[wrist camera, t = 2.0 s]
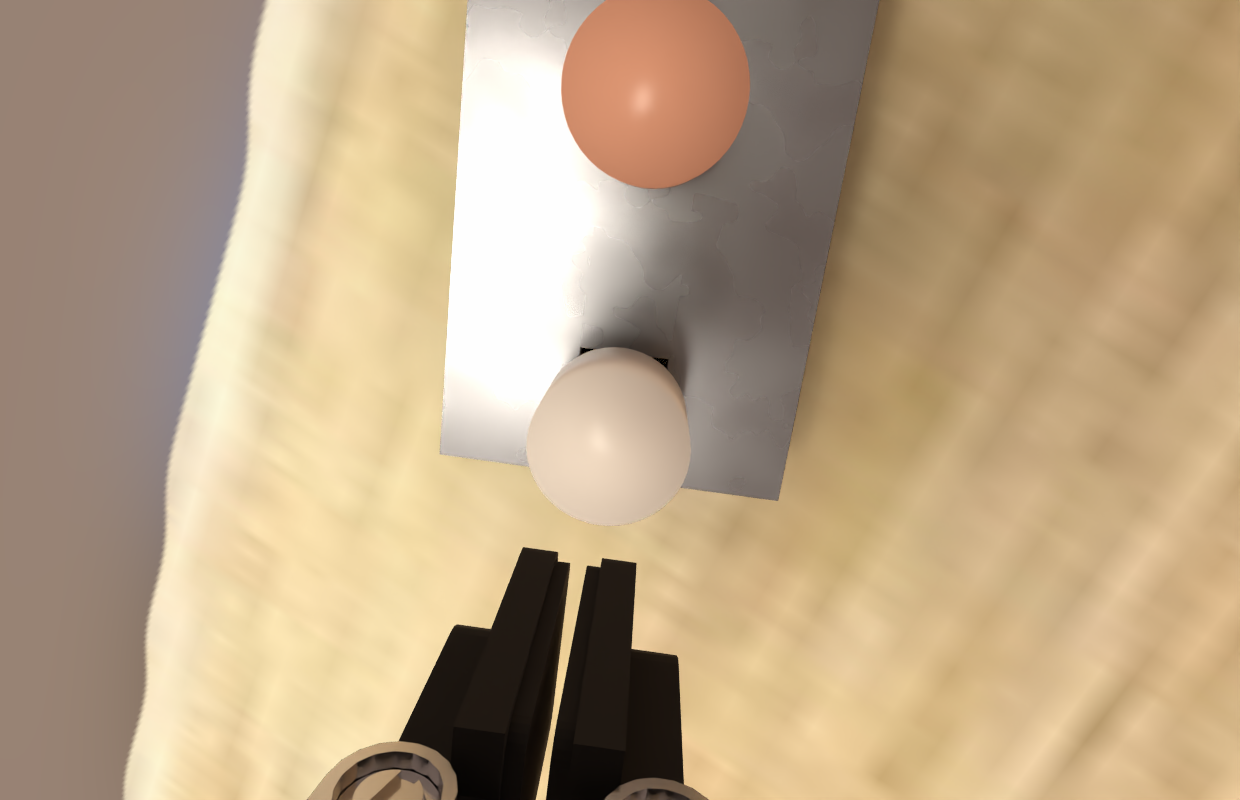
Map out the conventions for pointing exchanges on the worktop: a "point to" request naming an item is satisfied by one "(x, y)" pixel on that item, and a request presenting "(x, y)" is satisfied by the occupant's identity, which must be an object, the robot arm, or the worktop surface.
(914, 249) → the worktop surface
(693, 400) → the knob panel
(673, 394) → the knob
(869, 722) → the worktop surface
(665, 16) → the middle knob
